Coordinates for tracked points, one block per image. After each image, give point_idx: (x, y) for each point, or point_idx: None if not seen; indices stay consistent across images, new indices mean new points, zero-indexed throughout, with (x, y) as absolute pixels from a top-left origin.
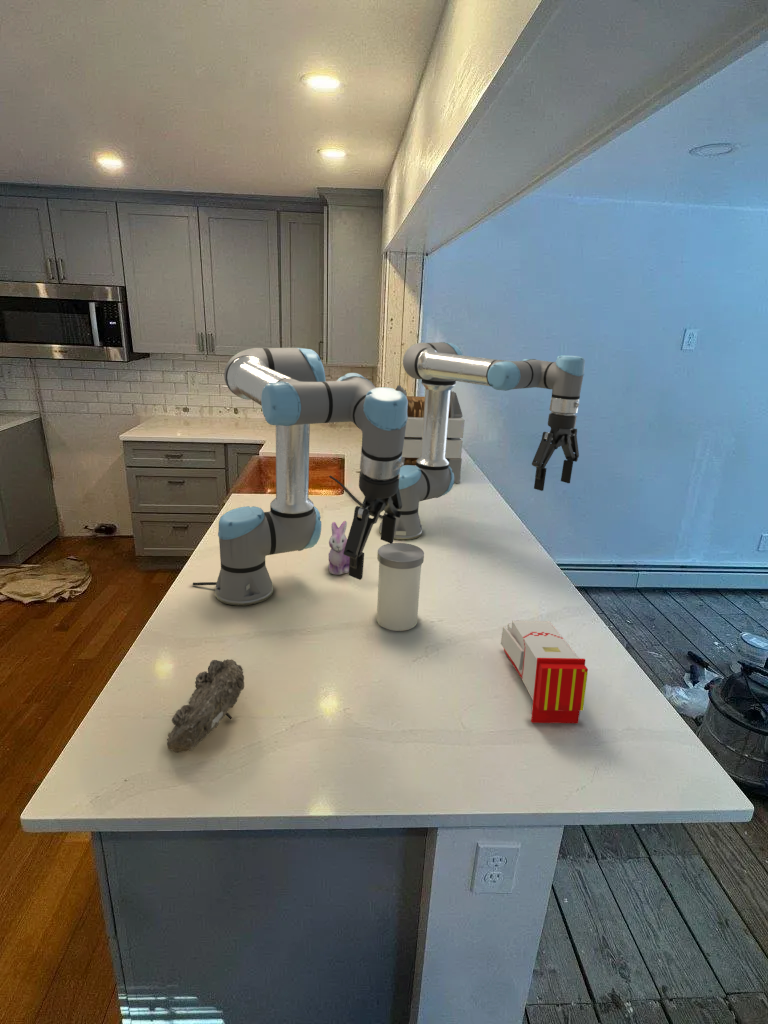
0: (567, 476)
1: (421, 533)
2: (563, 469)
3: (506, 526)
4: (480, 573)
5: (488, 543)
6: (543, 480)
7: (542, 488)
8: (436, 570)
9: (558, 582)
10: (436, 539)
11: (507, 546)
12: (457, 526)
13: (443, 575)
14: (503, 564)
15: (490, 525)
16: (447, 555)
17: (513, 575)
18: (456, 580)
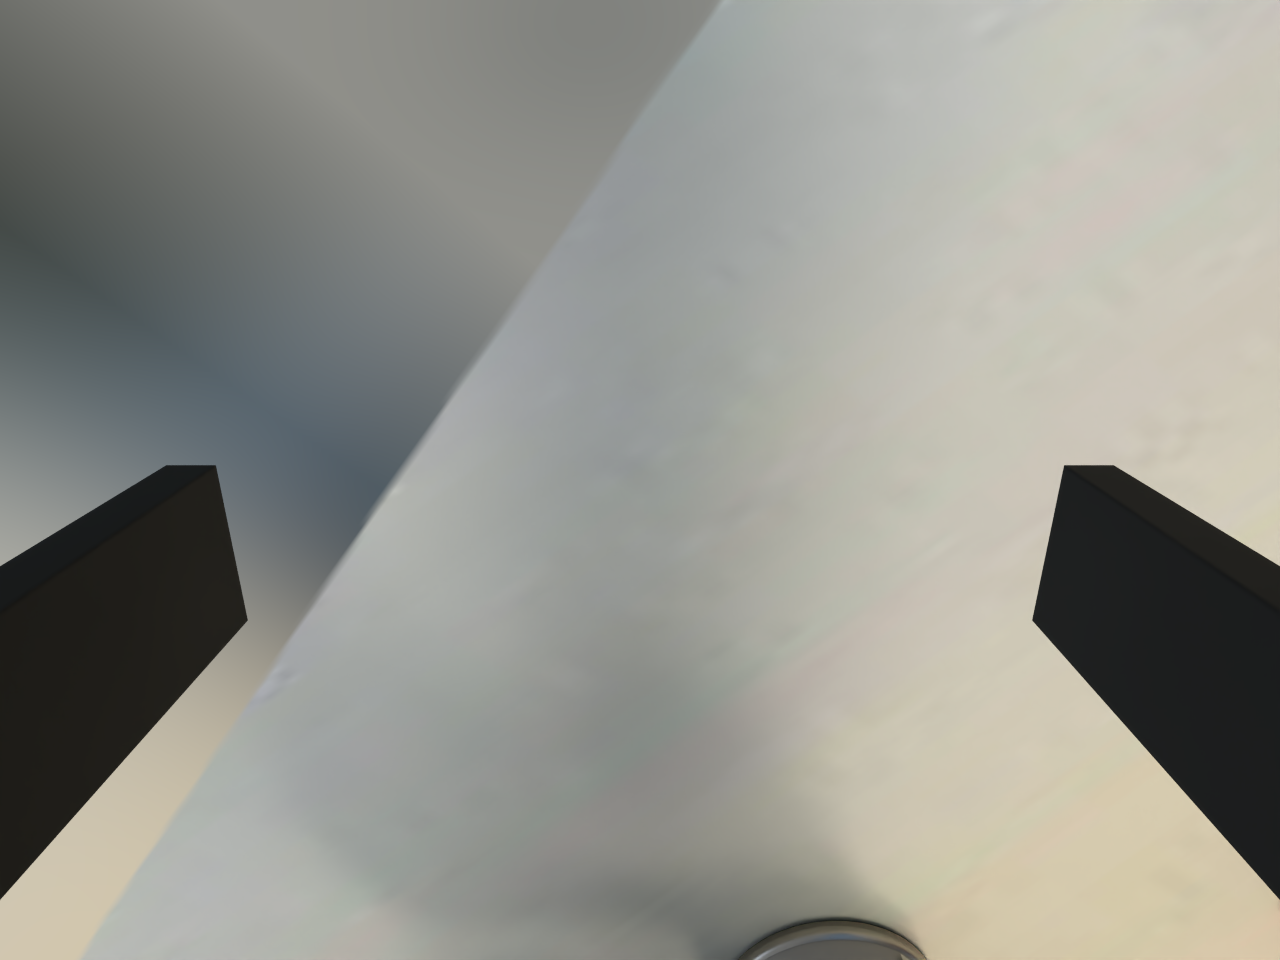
0: (150, 566)
1: (776, 940)
2: (94, 760)
3: (265, 794)
4: (929, 491)
5: (555, 706)
6: (1256, 557)
7: (1134, 481)
8: None
9: (661, 128)
10: (750, 868)
11: (493, 626)
12: (519, 916)
13: None
14: (722, 490)
15: (341, 844)
16: (871, 723)
17: (804, 365)
18: None
